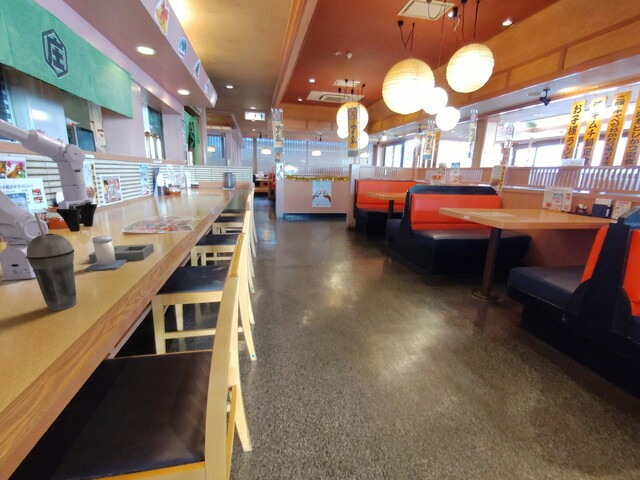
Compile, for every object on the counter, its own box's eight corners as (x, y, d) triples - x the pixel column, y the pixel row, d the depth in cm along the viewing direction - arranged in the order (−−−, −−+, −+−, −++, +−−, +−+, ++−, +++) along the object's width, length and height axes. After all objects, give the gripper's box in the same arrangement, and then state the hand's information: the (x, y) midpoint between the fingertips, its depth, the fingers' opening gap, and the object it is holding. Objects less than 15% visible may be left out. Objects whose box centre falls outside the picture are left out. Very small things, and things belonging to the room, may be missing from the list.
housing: (144, 259, 93) (143, 252, 93) (90, 262, 90) (88, 254, 90) (154, 251, 103) (153, 244, 102) (105, 253, 100) (104, 246, 99)
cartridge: (112, 265, 86) (107, 239, 84) (94, 267, 84) (89, 240, 82) (118, 260, 90) (114, 235, 88) (101, 262, 89) (96, 236, 87)
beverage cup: (93, 299, 65) (76, 209, 60) (62, 315, 58) (39, 215, 53) (63, 298, 66) (43, 208, 61) (29, 313, 59) (3, 214, 54)
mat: (116, 269, 84) (116, 267, 84) (84, 271, 83) (84, 269, 83) (127, 260, 92) (127, 259, 92) (98, 262, 90) (98, 260, 90)
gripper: (74, 186, 83) (83, 233, 87) (100, 183, 97) (107, 224, 101) (45, 186, 82) (56, 234, 85) (75, 184, 96) (83, 224, 99)
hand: (82, 228), depth 93 cm, fingers open, 7 cm apart
